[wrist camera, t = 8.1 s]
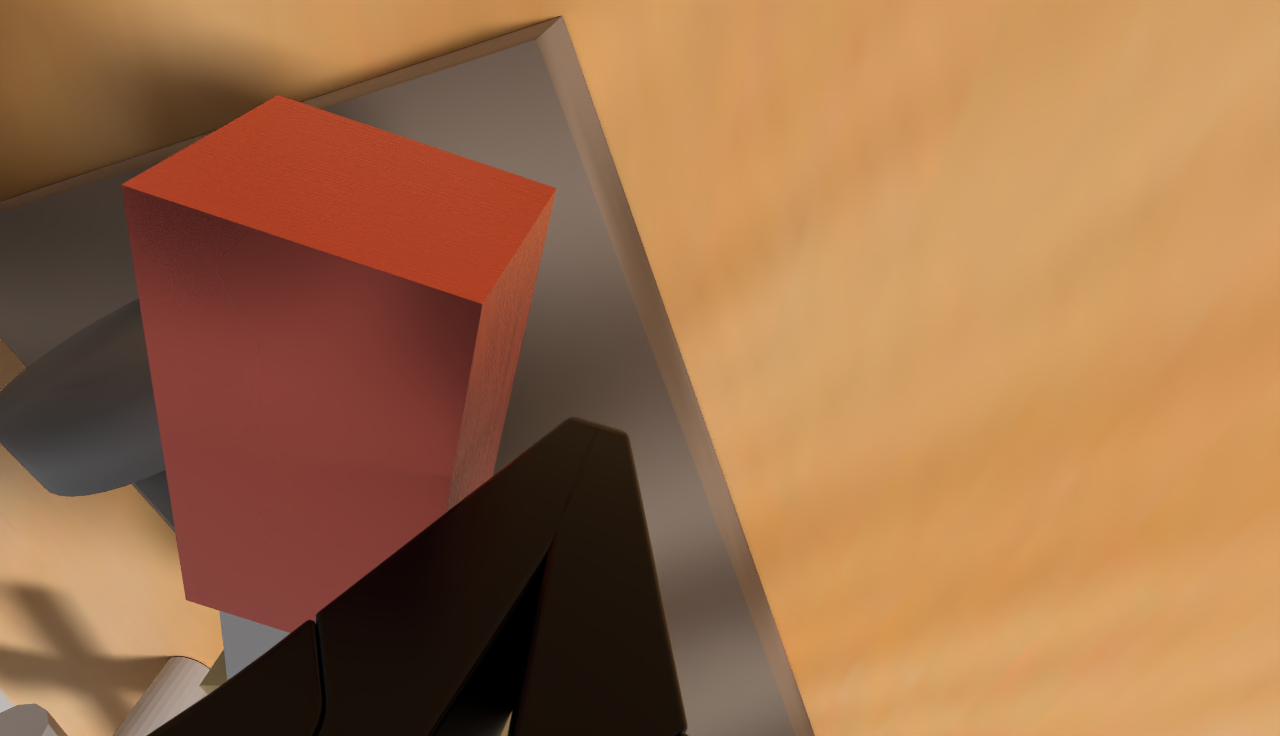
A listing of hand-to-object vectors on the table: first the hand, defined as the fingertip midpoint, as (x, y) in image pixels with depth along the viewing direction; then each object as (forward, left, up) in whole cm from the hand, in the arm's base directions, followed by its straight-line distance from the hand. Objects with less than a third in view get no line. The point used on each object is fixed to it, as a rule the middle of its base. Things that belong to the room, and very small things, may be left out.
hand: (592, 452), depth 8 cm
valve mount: (+8, -8, -7) cm, 13 cm away
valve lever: (+3, -5, 0) cm, 6 cm away
